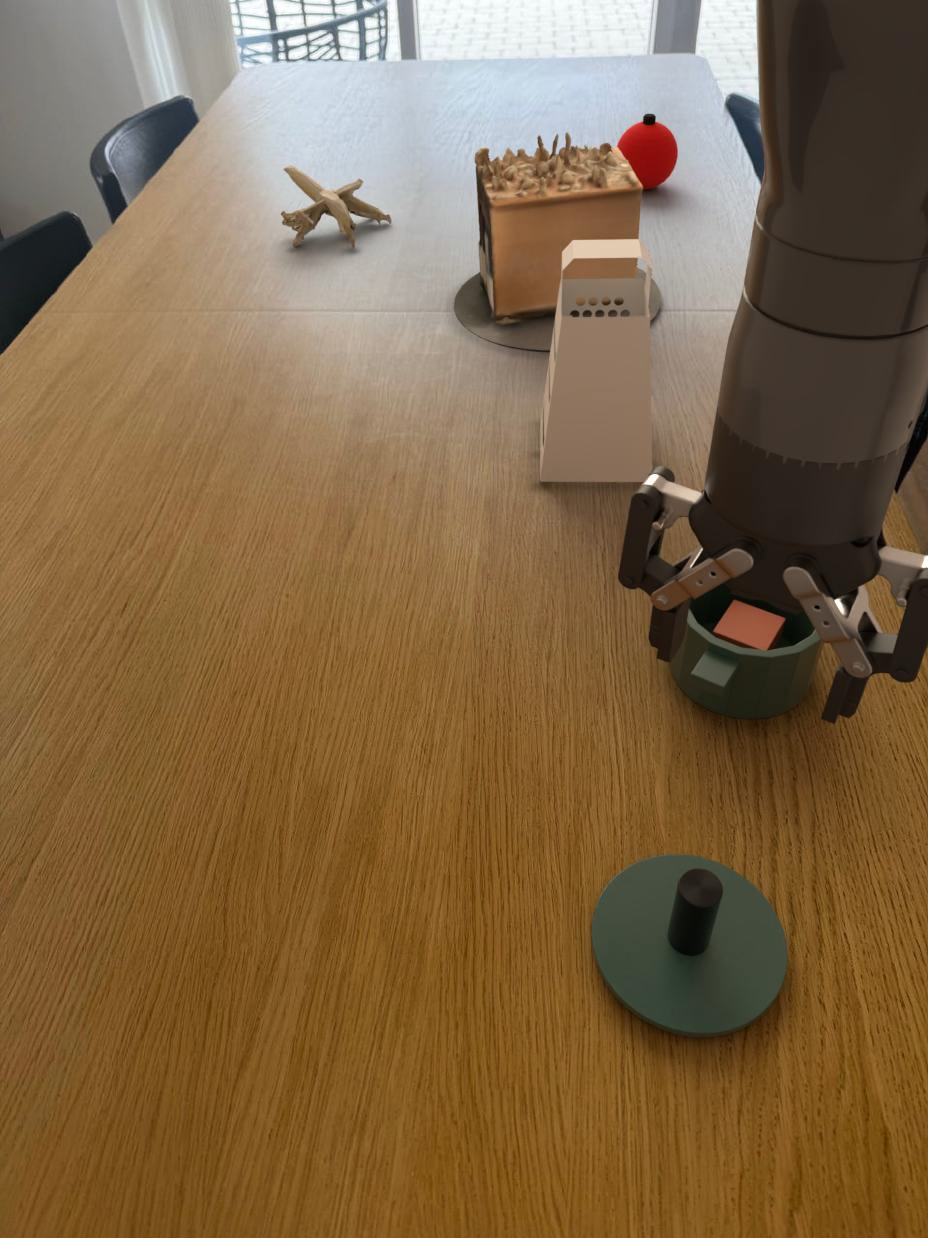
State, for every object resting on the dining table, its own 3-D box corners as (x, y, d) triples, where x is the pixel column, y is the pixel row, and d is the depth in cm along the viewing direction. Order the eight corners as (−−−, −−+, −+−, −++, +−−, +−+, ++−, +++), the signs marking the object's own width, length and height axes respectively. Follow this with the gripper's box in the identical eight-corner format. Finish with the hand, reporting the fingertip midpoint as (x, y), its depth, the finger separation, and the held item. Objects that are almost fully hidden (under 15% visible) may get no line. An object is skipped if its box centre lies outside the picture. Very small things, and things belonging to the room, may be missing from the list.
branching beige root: (312, 282, 130) (240, 208, 132) (386, 263, 141) (319, 195, 143) (335, 228, 124) (259, 152, 126) (411, 213, 135) (340, 142, 137)
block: (776, 656, 73) (786, 618, 70) (756, 690, 71) (766, 651, 68) (726, 637, 75) (734, 598, 72) (705, 669, 72) (712, 631, 70)
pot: (841, 629, 76) (861, 566, 71) (766, 766, 66) (784, 704, 62) (716, 583, 80) (727, 521, 75) (629, 706, 71) (637, 644, 66)
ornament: (679, 196, 140) (688, 122, 133) (618, 200, 140) (623, 126, 133) (667, 174, 147) (675, 102, 140) (608, 178, 147) (613, 106, 140)
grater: (540, 421, 99) (543, 224, 85) (644, 421, 98) (664, 222, 84) (539, 481, 91) (543, 276, 77) (652, 482, 90) (676, 275, 77)
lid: (811, 920, 58) (836, 858, 53) (739, 1083, 51) (761, 1029, 47) (641, 835, 63) (651, 772, 58) (556, 975, 56) (559, 916, 52)
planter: (556, 375, 105) (561, 199, 92) (412, 302, 119) (399, 140, 106) (703, 300, 116) (726, 133, 103) (556, 241, 130) (560, 88, 117)
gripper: (610, 404, 39) (590, 678, 50) (992, 504, 33) (873, 788, 44) (680, 324, 43) (647, 592, 54) (1026, 400, 38) (910, 681, 49)
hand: (748, 680), depth 49 cm, fingers open, 8 cm apart
